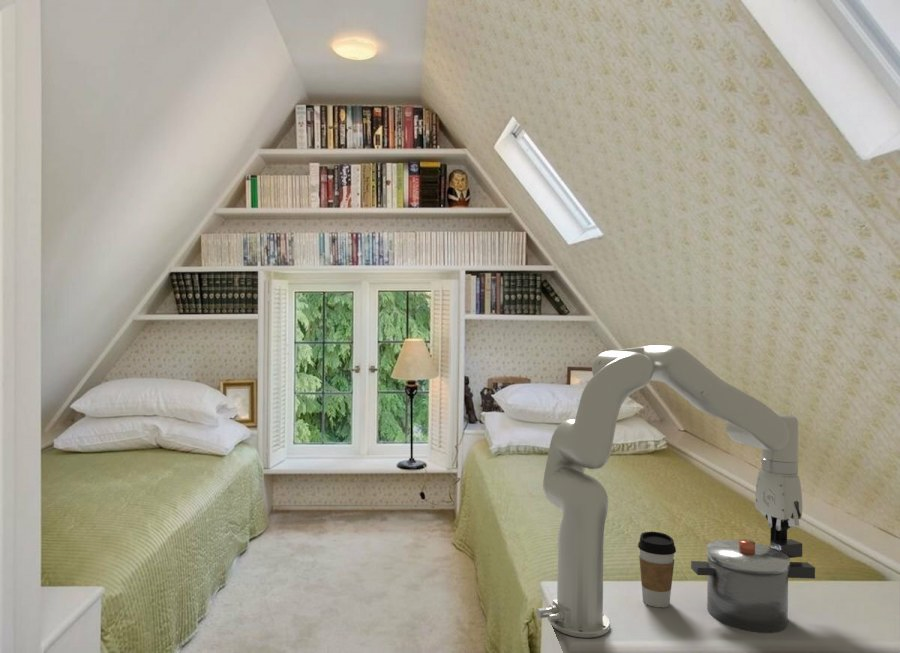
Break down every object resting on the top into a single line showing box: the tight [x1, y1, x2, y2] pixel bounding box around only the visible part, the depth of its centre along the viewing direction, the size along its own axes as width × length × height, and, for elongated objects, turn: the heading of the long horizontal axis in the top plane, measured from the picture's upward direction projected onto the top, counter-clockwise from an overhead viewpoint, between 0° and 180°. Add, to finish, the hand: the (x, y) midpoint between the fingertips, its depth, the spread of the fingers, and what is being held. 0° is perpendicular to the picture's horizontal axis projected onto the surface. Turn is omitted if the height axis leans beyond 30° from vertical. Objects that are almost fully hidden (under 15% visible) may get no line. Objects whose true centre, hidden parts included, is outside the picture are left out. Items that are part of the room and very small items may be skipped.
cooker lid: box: [705, 538, 803, 574], centre depth 134 cm, size 22×17×4 cm
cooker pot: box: [690, 557, 816, 634], centre depth 133 cm, size 26×16×12 cm, turn 88°
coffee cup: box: [637, 531, 677, 608], centre depth 139 cm, size 8×8×15 cm
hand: (778, 545), depth 140 cm, fingers closed
